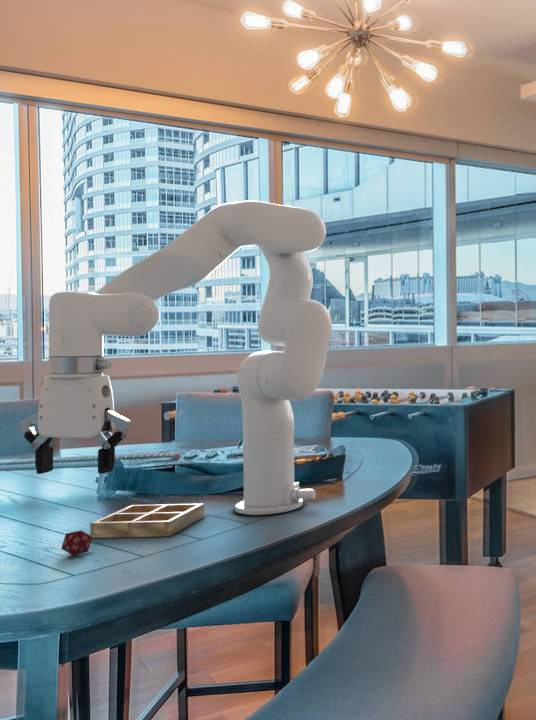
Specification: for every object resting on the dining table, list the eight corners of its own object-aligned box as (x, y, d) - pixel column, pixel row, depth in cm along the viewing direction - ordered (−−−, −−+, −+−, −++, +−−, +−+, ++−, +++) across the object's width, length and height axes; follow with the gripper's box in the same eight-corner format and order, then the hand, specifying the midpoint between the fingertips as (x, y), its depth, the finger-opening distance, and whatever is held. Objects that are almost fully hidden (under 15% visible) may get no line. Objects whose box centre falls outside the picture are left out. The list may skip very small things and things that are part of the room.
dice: (82, 550, 133) (81, 526, 133) (96, 553, 131) (96, 529, 131) (57, 556, 130) (57, 531, 130) (72, 560, 128) (71, 535, 128)
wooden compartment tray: (204, 516, 155) (203, 503, 155) (169, 536, 141) (169, 521, 141) (131, 518, 154) (131, 504, 154) (90, 537, 141) (89, 523, 141)
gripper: (142, 366, 135) (141, 468, 135) (37, 366, 135) (36, 468, 134) (117, 368, 128) (116, 476, 128) (5, 368, 127) (4, 476, 127)
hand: (75, 472), depth 131 cm, fingers open, 9 cm apart
